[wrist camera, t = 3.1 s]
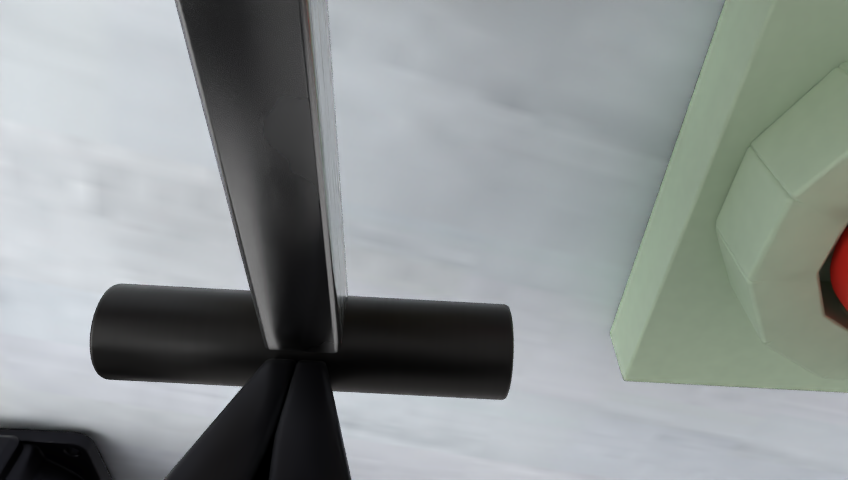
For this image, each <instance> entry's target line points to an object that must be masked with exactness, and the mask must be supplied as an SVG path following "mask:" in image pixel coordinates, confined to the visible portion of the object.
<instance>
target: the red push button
mask: <svg viewBox="0 0 848 480" xmlns="http://www.w3.org/2000/svg"><path fill="white" fill-rule="evenodd" d="M830 280H831V284H832V288H833V290H834V292H835V294H836V296H837V298H838V299H839V300H840V302H841V303H842V305H843V306H844V307H845V309H846V310H847V311H848V226H847V227H846V229H845V230H844V232H843V233H842V235H841V237H840V238H839V240H838V242H837V244H836V246H835V249H834V252H833V255H832V259H831V265H830Z"/></svg>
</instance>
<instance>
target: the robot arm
mask: <svg viewBox="0 0 848 480" xmlns="http://www.w3.org/2000/svg"><path fill="white" fill-rule="evenodd" d="M0 480H112V479H111V477H110V475H109V473H108V471H107V469H106V467H105V465H104V463H103V460H102V458H101V456H100V454H99V452H98V450H97V448H96V446H95V444H94V442H93V441H92V439H91V438H89V437H88V436H86V435H83V434H81V433H75V432H56V431H36V430H16V429H0ZM164 480H351V476H350V471H349V466H348V462H347V457H346V452H345V448H344V443H343V438H342V434H341V429H340V424H339V420H338V415H337V410H336V406H335V401H334V397H333V392H332V387H331V383H330V378H329V373H328V369H327V365H326V363H325V362H323V361H312V360H300V361H298V363H296V361H294V360H292V359H274V358H272V359H268V360H266V361H265V362H264V363H263V364H262V365H261V366H260V367H259V369H258V370H257V371H256V372H255V373H254V374H253V376H252V377H251V378H250V379H249V380H248V381H247V383H246V384H245V385H244V386H243V387H242V389H241V390H240V391H239V392H238V393H237V394H236V396H235V397H234V398H233V399H232V400H231V401H230V403H229V404H228V405H227V406H226V407H225V408H224V410H223V411H222V412H221V413H220V414H219V415H218V417H217V418H216V419H215V420H214V421H213V422H212V424H211V425H210V426H209V427H208V428H207V429H206V431H205V432H204V433H203V434H202V435H201V437H200V438H199V439H198V440H197V441H196V442H195V444H194V445H193V446H192V447H191V448H190V449H189V451H188V452H187V453H186V454H185V455H184V456H183V458H182V459H181V460H180V461H179V462H178V463H177V465H176V466H175V467H174V468H173V469H172V470H171V472H170V473H169V474H168V475H167V476H166V477H165V479H164Z"/></svg>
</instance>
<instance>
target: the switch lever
mask: <svg viewBox="0 0 848 480" xmlns="http://www.w3.org/2000/svg"><path fill="white" fill-rule="evenodd" d="M175 3H176V7H177V11H178V15H179V19H180V23H181V26H182V30H183V34H184V38H185V42H186V46H187V49H188V53H189V57H190V61H191V65H192V69H193V72H194V76H195V80H196V84H197V88H198V92H199V95H200V99H201V103H202V107H203V111H204V115H205V118H206V122H207V126H208V130H209V134H210V137H211V141H212V145H213V149H214V153H215V157H216V160H217V164H218V168H219V172H220V176H221V180H222V183H223V187H224V191H225V195H226V199H227V203H228V206H229V210H230V214H231V218H232V222H233V226H234V229H235V233H236V237H237V241H238V245H239V249H240V252H241V256H242V260H243V264H244V268H245V272H246V275H247V279H248V283H249V287H250V291H247V290H229V289H210V288H192V287H173V286H155V285H137V284H117V285H114V286H112V287H111V288H109V289H108V290H107V291H106V292H105V293H104V295H103V296H102V298H101V299H100V301H99V303H98V306H97V308H96V311H95V314H94V317H93V321H92V325H91V332H90V354H91V360H92V364H93V366H94V369H95V370H96V372H97V373H98V375H100V376H101V377H103V378H105V379H109V380H128V381H147V382H166V383H186V384H205V385H224V386H244V385H245V384H246V383H247V381H248V380H249V379H250V378H251V377H252V376H253V374H254V373H255V372H256V371H257V370H258V369H259V367H260V366H261V365H262V364H263V363H264V362H265V361H266V360H268V359H272V358H274V359H292V360H294V361H296V363H298V361H300V360H312V361H323V362H325V363H326V365H327V369H328V373H329V378H330V383H331V387H332V391H340V392H360V393H379V394H398V395H418V396H437V397H456V398H476V399H495V400H503V399H505V398H506V397H507V395H508V392H509V389H510V384H511V378H512V370H513V353H514V336H513V322H512V316H511V312H510V309H509V307H508V306H507V305H505V304H486V303H468V302H450V301H431V300H413V299H394V298H376V297H358V296H348V290H347V275H346V261H345V246H344V232H343V217H342V203H341V188H340V174H339V159H338V145H337V131H336V116H335V102H334V87H333V73H332V58H331V44H330V29H329V15H328V0H175Z"/></svg>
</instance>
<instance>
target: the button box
mask: <svg viewBox="0 0 848 480" xmlns="http://www.w3.org/2000/svg"><path fill="white" fill-rule="evenodd" d="M847 226H848V0H725V3H724V6H723V9H722V11H721V14H720V17H719V20H718V23H717V26H716V29H715V32H714V34H713V37H712V40H711V43H710V46H709V49H708V52H707V55H706V57H705V60H704V63H703V66H702V69H701V72H700V75H699V77H698V80H697V83H696V86H695V89H694V92H693V95H692V98H691V100H690V103H689V106H688V109H687V112H686V115H685V118H684V121H683V123H682V126H681V129H680V132H679V135H678V138H677V141H676V144H675V146H674V149H673V152H672V155H671V158H670V161H669V164H668V167H667V169H666V172H665V175H664V178H663V181H662V184H661V187H660V190H659V192H658V195H657V198H656V201H655V204H654V207H653V210H652V213H651V215H650V218H649V221H648V224H647V227H646V230H645V233H644V236H643V238H642V241H641V244H640V247H639V250H638V253H637V256H636V259H635V261H634V264H633V267H632V270H631V273H630V276H629V279H628V282H627V284H626V287H625V290H624V293H623V296H622V299H621V302H620V305H619V307H618V310H617V313H616V316H615V319H614V322H613V325H612V328H611V330H610V336H611V340H612V343H613V346H614V350H615V353H616V357H617V360H618V363H619V367H620V370H621V374H622V377H623V380H624V381H634V382H653V383H672V384H691V385H710V386H729V387H748V388H767V389H787V390H806V391H825V392H844V393H848V311H847V310H846V309H845V307H844V306H843V305H842V303H841V302H840V300H839V299H838V298H837V296H836V294H835V292H834V290H833V288H832V284H831V280H830V265H831V259H832V255H833V252H834V249H835V246H836V244H837V242H838V240H839V238H840V237H841V235H842V233H843V232H844V230H845V229H846V227H847Z"/></svg>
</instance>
